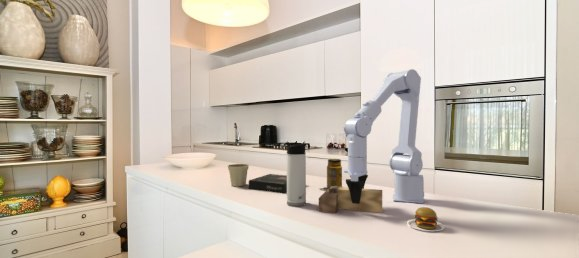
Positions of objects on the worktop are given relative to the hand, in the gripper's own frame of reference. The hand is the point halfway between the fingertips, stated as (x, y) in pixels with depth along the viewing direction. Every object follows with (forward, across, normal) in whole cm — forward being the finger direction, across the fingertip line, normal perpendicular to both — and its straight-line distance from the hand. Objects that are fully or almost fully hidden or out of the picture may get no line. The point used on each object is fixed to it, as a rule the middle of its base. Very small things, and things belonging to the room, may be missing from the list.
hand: (357, 200), depth 93 cm
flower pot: (+3, -19, -52) cm, 56 cm away
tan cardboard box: (+3, 0, -8) cm, 8 cm away
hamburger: (+3, +10, +18) cm, 22 cm away
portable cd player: (+3, -21, -36) cm, 41 cm away
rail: (+3, 0, 0) cm, 3 cm away
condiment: (+3, -24, -12) cm, 27 cm away
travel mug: (+3, +1, -20) cm, 20 cm away
